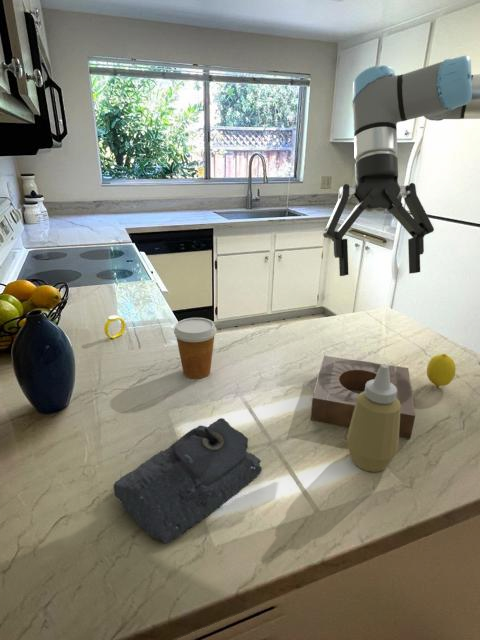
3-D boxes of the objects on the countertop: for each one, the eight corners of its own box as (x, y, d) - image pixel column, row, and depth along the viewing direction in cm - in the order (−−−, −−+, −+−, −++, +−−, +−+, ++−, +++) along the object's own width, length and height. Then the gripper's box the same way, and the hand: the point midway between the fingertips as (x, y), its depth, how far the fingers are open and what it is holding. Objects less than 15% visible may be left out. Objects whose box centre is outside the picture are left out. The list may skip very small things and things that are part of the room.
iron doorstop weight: (100, 491, 61) (96, 466, 59) (208, 425, 76) (207, 404, 74) (161, 556, 51) (158, 528, 49) (271, 466, 66) (272, 442, 64)
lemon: (446, 396, 85) (454, 362, 82) (420, 386, 89) (426, 354, 86) (454, 385, 89) (462, 353, 86) (428, 377, 93) (435, 345, 90)
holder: (405, 387, 88) (408, 367, 86) (411, 439, 72) (416, 416, 70) (321, 374, 93) (323, 355, 92) (309, 420, 77) (311, 398, 75)
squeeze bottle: (366, 484, 62) (382, 384, 56) (334, 451, 69) (346, 359, 62) (405, 469, 66) (426, 373, 59) (371, 439, 72) (386, 349, 65)
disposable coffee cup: (177, 384, 89) (174, 335, 84) (175, 364, 97) (172, 318, 93) (220, 380, 91) (219, 332, 86) (214, 360, 99) (213, 315, 95)
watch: (121, 331, 115) (119, 312, 112) (128, 334, 113) (125, 314, 111) (104, 338, 110) (101, 318, 108) (110, 341, 109) (107, 321, 106)
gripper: (429, 165, 79) (432, 273, 80) (304, 167, 77) (308, 278, 78) (452, 150, 72) (455, 269, 72) (315, 152, 70) (319, 274, 70)
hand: (379, 274), depth 75 cm, fingers open, 13 cm apart
